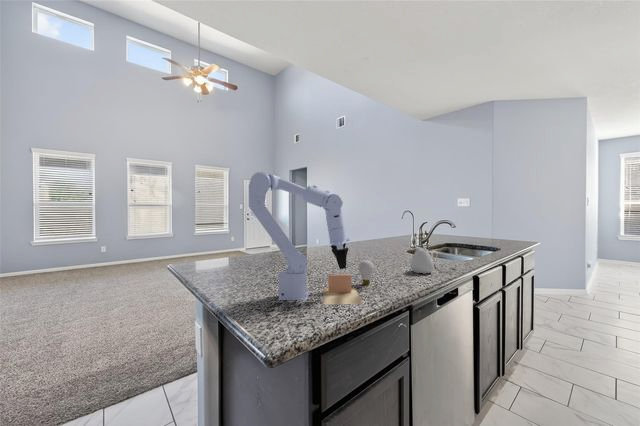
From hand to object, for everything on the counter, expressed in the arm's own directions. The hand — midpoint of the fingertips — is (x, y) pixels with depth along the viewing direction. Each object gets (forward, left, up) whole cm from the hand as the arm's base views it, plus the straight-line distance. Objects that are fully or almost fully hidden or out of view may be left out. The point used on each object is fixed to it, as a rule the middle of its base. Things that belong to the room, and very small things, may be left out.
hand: (342, 265), depth 95 cm
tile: (-1, 0, -9) cm, 9 cm away
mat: (-1, -4, -10) cm, 11 cm away
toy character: (+40, +31, -10) cm, 52 cm away
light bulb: (+10, +9, -10) cm, 17 cm away
